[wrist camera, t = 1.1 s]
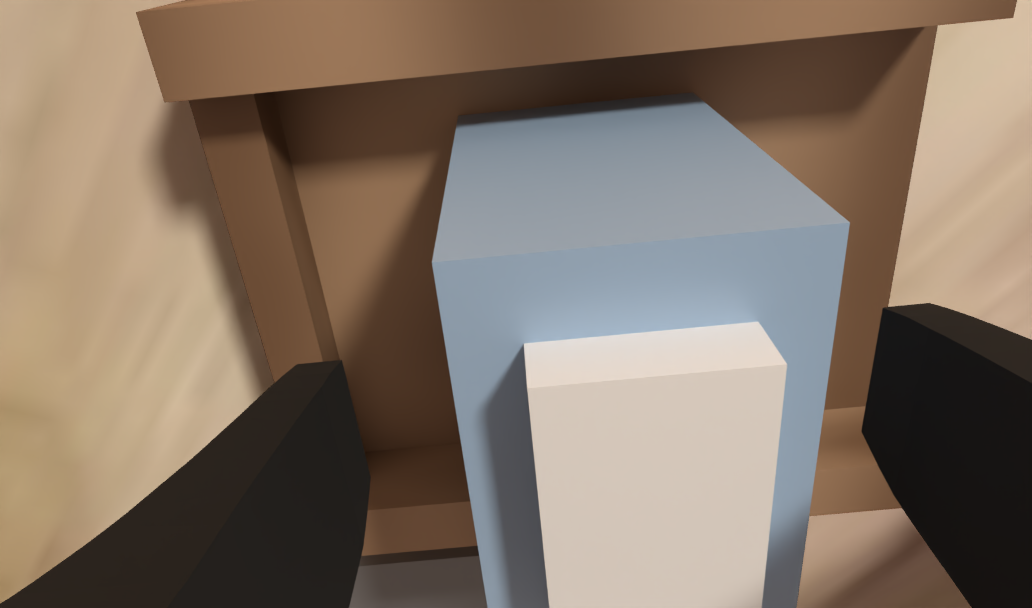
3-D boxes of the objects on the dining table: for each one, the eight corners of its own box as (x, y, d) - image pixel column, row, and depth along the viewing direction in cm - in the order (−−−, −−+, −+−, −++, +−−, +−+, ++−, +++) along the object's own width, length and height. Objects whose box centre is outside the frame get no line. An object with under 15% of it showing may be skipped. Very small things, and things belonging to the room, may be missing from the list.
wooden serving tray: (927, -79, 12) (1034, -80, 9) (846, 426, 17) (904, 507, 14) (204, -5, 12) (135, 11, 10) (335, 473, 17) (310, 560, 14)
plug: (692, 92, 12) (892, 256, 6) (685, 384, 15) (815, 694, 9) (458, 115, 12) (424, 301, 6) (495, 401, 15) (496, 721, 9)
